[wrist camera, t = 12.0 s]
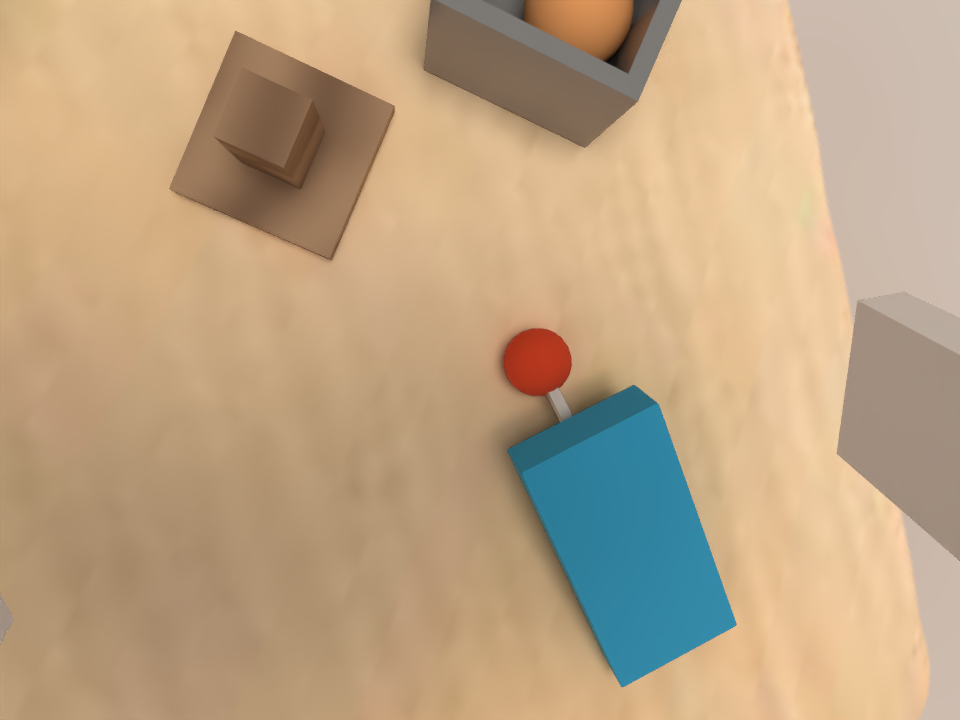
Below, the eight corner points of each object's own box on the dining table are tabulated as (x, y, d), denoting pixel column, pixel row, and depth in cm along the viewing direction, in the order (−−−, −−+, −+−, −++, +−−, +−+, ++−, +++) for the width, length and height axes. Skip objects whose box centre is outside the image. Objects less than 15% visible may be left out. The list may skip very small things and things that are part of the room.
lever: (672, 549, 43) (574, 295, 36) (736, 625, 37) (633, 332, 30) (573, 602, 42) (456, 353, 36) (621, 687, 36) (489, 404, 29)
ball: (486, 39, 33) (552, 21, 28) (527, -60, 33) (599, -92, 28) (560, 95, 35) (629, 86, 31) (597, 5, 35) (672, -16, 31)
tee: (175, 192, 34) (128, 167, 28) (240, 38, 33) (206, -20, 28) (331, 260, 35) (317, 249, 29) (394, 111, 35) (393, 70, 29)
